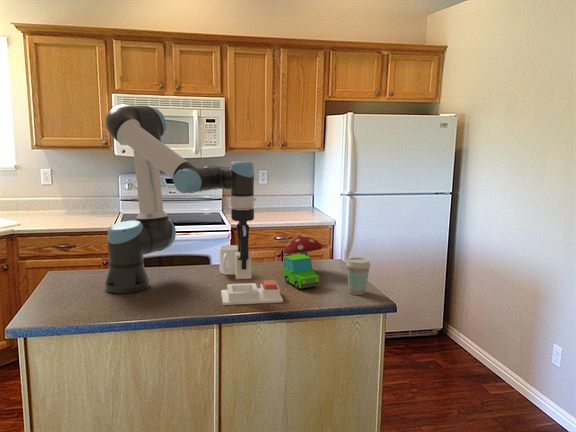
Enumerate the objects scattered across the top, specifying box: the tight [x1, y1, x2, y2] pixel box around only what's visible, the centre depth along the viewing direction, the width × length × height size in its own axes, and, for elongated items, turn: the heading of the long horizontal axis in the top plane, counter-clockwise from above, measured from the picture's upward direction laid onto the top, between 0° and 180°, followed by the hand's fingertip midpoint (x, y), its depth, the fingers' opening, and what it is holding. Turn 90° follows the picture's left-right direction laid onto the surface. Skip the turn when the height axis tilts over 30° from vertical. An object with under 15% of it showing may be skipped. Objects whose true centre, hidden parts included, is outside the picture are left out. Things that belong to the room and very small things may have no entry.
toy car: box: [283, 253, 320, 290], centre depth 183 cm, size 10×13×10 cm
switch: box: [262, 279, 278, 290], centre depth 170 cm, size 4×5×2 cm
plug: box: [234, 251, 252, 280], centre depth 166 cm, size 5×5×10 cm
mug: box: [219, 244, 238, 276], centre depth 195 cm, size 12×8×10 cm
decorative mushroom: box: [283, 234, 324, 257], centre depth 199 cm, size 16×16×15 cm
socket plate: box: [220, 282, 284, 306], centre depth 169 cm, size 20×13×3 cm, turn 100°
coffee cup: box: [345, 257, 371, 296], centre depth 175 cm, size 9×9×12 cm
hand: (243, 275), depth 167 cm, fingers closed on plug, 5 cm apart
